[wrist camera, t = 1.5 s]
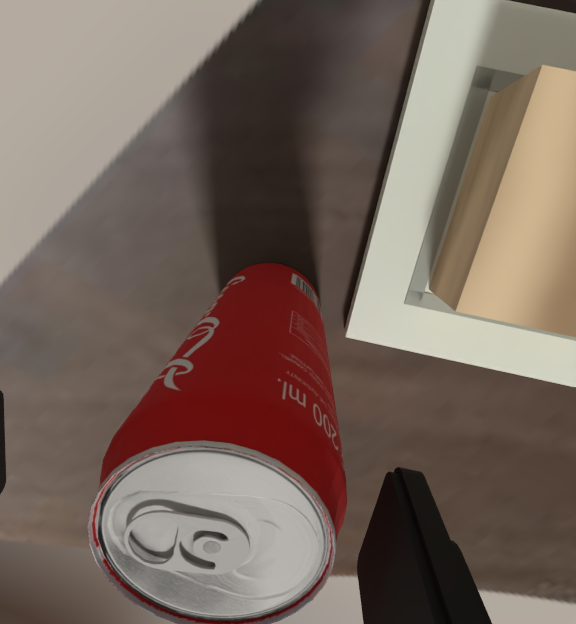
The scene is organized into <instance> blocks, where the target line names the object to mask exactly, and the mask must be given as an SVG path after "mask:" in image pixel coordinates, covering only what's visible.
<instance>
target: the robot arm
mask: <svg viewBox="0 0 576 624" xmlns="http://www.w3.org/2000/svg"><path fill="white" fill-rule="evenodd" d="M5 483H6V462H5V430H4V398H3V393H2V391H0V494H1V492H2V491H3V489H4V487H5ZM357 572H358V581H359V589H360V597H361V605H362V613H363V621H364V624H492V623H491V620H490V618H489V616H488V613H487V611H486V609H485V606H484V604H483V601H482V599H481V597H480V594H479V592H478V590H477V587H476V585H475V583H474V580H473V578H472V576H471V573H470V571H469V569H468V566H467V564H466V562H465V559H464V557H463V555H462V552H461V550H460V549H459V547H458V545H457V544H456V543H455V542H454V541H451V540H450V537H449V535H448V533H447V530H446V528H445V525H444V523H443V520H442V518H441V516H440V513H439V511H438V508H437V506H436V503H435V501H434V498H433V496H432V494H431V491H430V489H429V486H428V484H427V481H426V479H425V476H424V475H423V473H421V472H419V471H414V470H409V469H405V468H400V467H398V468H396V469H395V470H394V473H393V472H388V473H387V474H386V476H385V479H384V482H383V485H382V488H381V491H380V494H379V497H378V500H377V503H376V506H375V509H374V511H373V514H372V517H371V520H370V523H369V526H368V529H367V532H366V535H365V538H364V541H363V544H362V547H361V550H360V553H359V556H358V564H357Z"/></svg>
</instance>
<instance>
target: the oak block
mask: <svg viewBox="0 0 576 624" xmlns="http://www.w3.org/2000/svg"><path fill="white" fill-rule="evenodd" d="M429 290H430V291H431V292H432V293H434V294H435V295H436V296H437V297H439V298H440V299H441V300H442V301H443V302H445V303H446V304H447V305H448V306H449V307H451V308H452V309H453V310H454V311H456V312H460V313H465V314H470V315H474V316H479V317H483V318H488V319H493V320H497V321H502V322H507V323H511V324H516V325H521V326H525V327H530V328H535V329H539V330H544V331H549V332H553V333H558V334H562V335H567V336H572V337H576V71H571V70H566V69H561V68H556V67H551V66H546V65H541V66H540V67H538V68H536V69H535V70H533V71H531V72H530V73H528V74H527V75H525V76H523V77H522V78H520V79H518V80H517V81H515V82H514V83H512V84H510V85H509V86H507V87H505V88H504V89H502V90H501V91H499V92H497V93H496V94H494V95H492V96H491V99H490V102H489V105H488V108H487V111H486V114H485V117H484V120H483V123H482V126H481V129H480V133H479V136H478V139H477V142H476V145H475V148H474V151H473V154H472V157H471V160H470V163H469V167H468V170H467V173H466V176H465V179H464V182H463V185H462V188H461V191H460V194H459V197H458V201H457V204H456V207H455V210H454V213H453V216H452V219H451V222H450V225H449V228H448V231H447V235H446V238H445V241H444V244H443V247H442V250H441V253H440V256H439V259H438V262H437V265H436V268H435V272H434V275H433V278H432V281H431V284H430V287H429Z"/></svg>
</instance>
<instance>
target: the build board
mask: <svg viewBox="0 0 576 624" xmlns="http://www.w3.org/2000/svg"><path fill="white" fill-rule="evenodd" d="M541 65H546V66H551V67H556V68H561V69H566V70H571V71H576V14H575V13H570V12H565V11H560V10H555V9H549V8H544V7H539V6H534V5H529V4H524V3H519V2H514V1H509V0H431V1H430V5H429V9H428V12H427V16H426V20H425V24H424V28H423V31H422V35H421V39H420V43H419V47H418V51H417V54H416V58H415V62H414V66H413V70H412V73H411V77H410V81H409V85H408V89H407V92H406V96H405V100H404V104H403V108H402V112H401V115H400V119H399V123H398V127H397V131H396V134H395V138H394V142H393V146H392V150H391V154H390V157H389V161H388V165H387V169H386V173H385V176H384V180H383V184H382V188H381V192H380V196H379V199H378V203H377V207H376V211H375V215H374V218H373V222H372V226H371V230H370V234H369V238H368V241H367V245H366V249H365V253H364V257H363V260H362V264H361V268H360V272H359V276H358V279H357V283H356V287H355V291H354V295H353V299H352V302H351V306H350V310H349V314H348V318H347V321H346V325H345V329H344V331H345V336H346V337H348V338H352V339H357V340H361V341H366V342H371V343H375V344H380V345H384V346H389V347H393V348H398V349H403V350H407V351H412V352H416V353H421V354H426V355H430V356H435V357H439V358H444V359H448V360H453V361H458V362H462V363H467V364H471V365H476V366H481V367H485V368H490V369H494V370H499V371H503V372H508V373H513V374H517V375H522V376H526V377H531V378H535V379H540V380H545V381H549V382H554V383H558V384H563V385H568V386H572V387H576V337H572V336H567V335H562V334H558V333H553V332H549V331H544V330H539V329H535V328H530V327H525V326H521V325H516V324H511V323H507V322H502V321H497V320H493V319H488V318H483V317H479V316H474V315H470V314H465V313H460V312H456V311H454V310H453V309H452V308H451V307H449V306H448V305H447V304H446V303H445V302H443V301H442V300H441V299H440V298H439V297H437V296H436V295H435V294H434V293H432V292H431V291H430V290H429V287H430V284H431V281H432V278H433V275H434V272H435V268H436V265H437V262H438V259H439V256H440V253H441V250H442V247H443V244H444V241H445V238H446V235H447V231H448V228H449V225H450V222H451V219H452V216H453V213H454V210H455V207H456V204H457V201H458V197H459V194H460V191H461V188H462V185H463V182H464V179H465V176H466V173H467V170H468V167H469V163H470V160H471V157H472V154H473V151H474V148H475V145H476V142H477V139H478V136H479V133H480V129H481V126H482V123H483V120H484V117H485V114H486V111H487V108H488V105H489V102H490V99H491V96H492V95H494V94H496V93H497V92H499V91H501V90H502V89H504V88H505V87H507V86H509V85H510V84H512V83H514V82H515V81H517V80H518V79H520V78H522V77H523V76H525V75H527V74H528V73H530V72H531V71H533V70H535V69H536V68H538V67H540V66H541Z"/></svg>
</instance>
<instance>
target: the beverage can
mask: <svg viewBox="0 0 576 624" xmlns="http://www.w3.org/2000/svg"><path fill="white" fill-rule="evenodd" d="M346 505H347V492H346V477H345V470H344V463H343V456H342V449H341V443H340V436H339V429H338V422H337V415H336V408H335V401H334V394H333V387H332V380H331V374H330V367H329V360H328V353H327V346H326V339H325V332H324V325H323V318H322V311H321V305H320V301H319V298H318V295H317V293H316V291H315V289H314V287H313V285H312V284H311V283H310V282H309V281H308V279H307V278H306V277H304V276H303V275H302V274H301V273H300V272H298V271H296V270H294V269H293V268H291V267H288V266H285V265H282V264H277V263H260V264H256V265H252V266H249V267H247V268H245V269H243V270H241V271H239V272H238V273H237V274H236V275H235V276H233V277H232V278H231V280H230V281H229V282H228V283H227V285H226V286H225V287H224V289H223V290H222V291H221V293H220V294H219V295H218V297H217V298H216V299H215V301H214V302H213V303H212V305H211V306H210V307H209V309H208V310H207V311H206V313H205V314H204V315H203V317H202V318H201V320H200V321H199V322H198V324H197V325H196V326H195V328H194V329H193V330H192V332H191V333H190V334H189V336H188V337H187V338H186V340H185V341H184V342H183V344H182V345H181V346H180V348H179V349H178V350H177V352H176V353H175V355H174V356H173V357H172V359H171V360H170V361H169V363H168V364H167V365H166V367H165V368H164V369H163V371H162V372H161V373H160V375H159V376H158V377H157V379H156V380H155V381H154V383H153V384H152V386H151V387H150V388H149V390H148V391H147V392H146V394H145V395H144V396H143V398H142V399H141V400H140V402H139V403H138V404H137V406H136V407H135V408H134V410H133V411H132V412H131V414H130V415H129V417H128V418H127V419H126V421H125V422H124V423H123V425H122V426H121V427H120V429H119V430H118V431H117V433H116V434H115V435H114V437H113V439H112V441H111V443H110V446H109V448H108V450H107V452H106V454H105V457H104V459H103V464H102V470H101V476H100V486H99V489H98V491H97V493H96V496H95V498H94V500H93V502H92V505H91V508H90V514H89V520H88V535H89V544H90V547H91V550H92V552H93V555H94V558H95V560H96V563H97V564H98V566H99V567H100V569H101V570H102V572H103V574H104V575H105V577H106V578H107V579H108V580H109V581H110V582H111V583H112V584H113V586H114V587H115V588H116V589H117V590H118V591H119V592H120V593H122V594H123V595H124V596H125V597H127V598H128V599H129V600H131V601H132V602H133V603H134V604H136V605H137V606H139V607H141V608H143V609H145V610H147V611H148V612H150V613H152V614H154V615H156V616H158V617H161V618H164V619H166V620H169V621H171V622H174V623H178V624H271V623H274V622H277V621H280V620H282V619H284V618H286V617H288V616H290V615H292V614H294V613H296V612H297V611H299V610H300V609H301V608H303V607H304V606H305V605H307V604H308V603H309V602H311V601H312V600H313V598H314V597H315V596H316V595H317V594H318V593H319V591H320V590H321V589H322V588H323V587H324V585H325V583H326V581H327V579H328V577H329V575H330V573H331V571H332V567H333V562H334V557H335V552H336V539H337V535H338V533H339V531H340V529H341V527H342V525H343V520H344V515H345V510H346Z"/></svg>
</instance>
